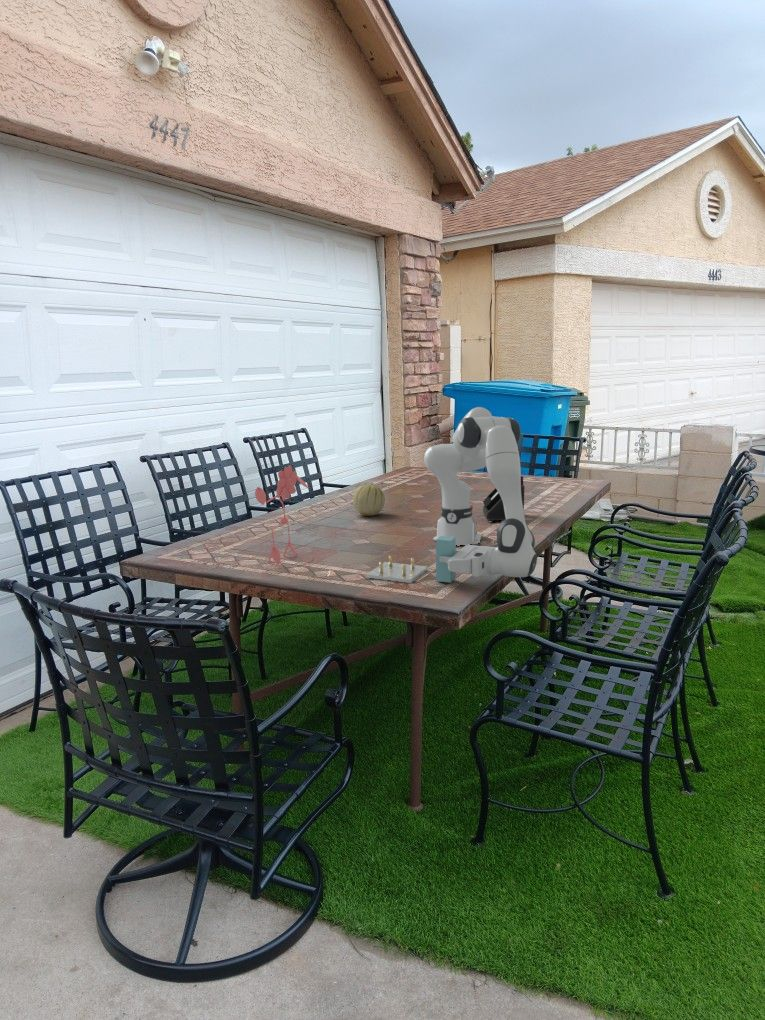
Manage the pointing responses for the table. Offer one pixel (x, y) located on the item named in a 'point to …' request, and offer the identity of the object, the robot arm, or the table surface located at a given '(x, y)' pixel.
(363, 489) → the cantaloupe
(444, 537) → the teal block
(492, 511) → the voltmeter
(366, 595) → the table surface
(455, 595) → the table surface
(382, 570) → the post plate
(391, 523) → the table surface
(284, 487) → the figurine
